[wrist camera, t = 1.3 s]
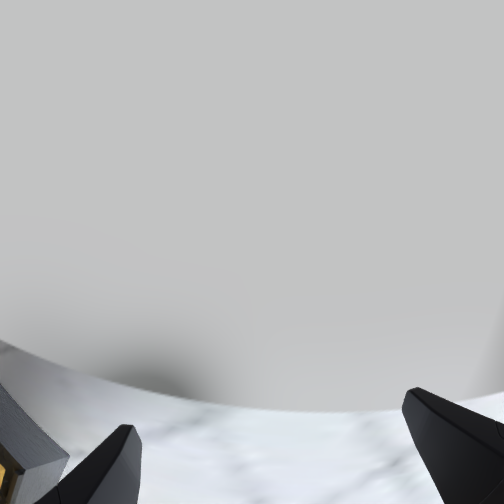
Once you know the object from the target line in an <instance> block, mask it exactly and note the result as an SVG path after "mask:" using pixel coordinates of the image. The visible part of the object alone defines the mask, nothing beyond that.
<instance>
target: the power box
mask: <svg viewBox="0 0 504 504" xmlns="http://www.w3.org/2000/svg"><path fill="white" fill-rule="evenodd" d="M69 457H70V455H69V454H67V453H66V452H65V451H64V450H63V449H62V448H61V447H59V446H58V445H57V444H56V443H55V442H54V441H53V440H52V439H51V438H50V437H49V436H48V435H46V434H45V433H44V432H43V431H42V430H41V429H40V428H39V427H38V426H37V425H36V424H35V423H34V422H33V421H32V420H31V418H30V417H29V416H28V415H27V414H26V413H25V412H24V411H23V410H22V409H21V408H20V407H19V405H18V404H17V403H16V402H15V401H14V400H13V399H12V397H11V396H10V395H9V394H8V393H7V391H6V390H5V389H4V388H3V387H2V385H1V384H0V464H1V465H2V466H3V467H4V469H5V473H4V477H3V480H2V484H1V488H0V504H33V503H35V502H36V501H37V500H39V499H40V498H41V497H43V496H44V495H45V494H46V493H47V492H49V491H50V490H51V489H52V488H53V487H54V486H55V485H57V484H58V481H59V479H60V477H61V475H62V472H63V470H64V468H65V466H66V464H67V461H68V459H69Z"/></svg>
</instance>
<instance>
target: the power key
mask: <svg viewBox="0 0 504 504" xmlns="http://www.w3.org/2000/svg"><path fill="white" fill-rule="evenodd" d="M4 473H5V469H4V467H3V466H2V465H1V464H0V488H1V484H2V480H3V477H4Z"/></svg>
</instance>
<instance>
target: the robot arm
mask: <svg viewBox="0 0 504 504" xmlns="http://www.w3.org/2000/svg"><path fill="white" fill-rule="evenodd" d="M402 413H403V415H404V418H405V420H406V423H407V426H408V428H409V431H410V433H411V436H412V439H413V441H414V444H415V446H416V448H417V450H418V452H419V454H420V456H421V458H422V460H423V462H424V464H425V465H426V467H427V469H428V471H429V473H430V475H431V477H432V479H433V481H434V483H435V485H436V487H437V489H438V492H439V494H440V496H441V498H442V500H443V502H444V504H504V424H503V423H500V422H498V421H495V420H493V419H490V418H488V417H485V416H483V415H481V414H478V413H476V412H474V411H471V410H469V409H466V408H464V407H462V406H460V405H457V404H455V403H453V402H450V401H448V400H446V399H444V398H441V397H439V396H437V395H435V394H432V393H430V392H428V391H426V390H424V389H421V388H419V387H416V388H413V389H410V390H408V391H407V393H406V396H405V399H404V402H403V405H402ZM141 455H142V442H141V439H140V437H139V435H138V433H137V431H136V429H135V427H134V426H133V425H127V424H122V425H120V426H119V427H118V428H117V429H116V430H115V431H114V432H113V433H112V434H110V435H109V436H108V437H107V438H106V439H105V440H104V441H103V442H102V443H101V444H100V445H99V446H98V447H97V448H96V449H95V450H94V451H92V452H91V453H90V454H89V455H88V456H87V457H86V458H85V459H84V460H83V461H82V462H81V463H80V464H78V465H77V466H76V467H75V468H74V469H73V470H72V471H71V472H70V473H69V474H68V475H67V476H65V477H64V478H63V479H62V480H61V481H60V482H59V483H58V484H57V485H55V486H54V487H53V488H52V489H51V490H50V491H49V492H47V493H46V494H45V495H44V496H43V497H41V498H40V499H39V500H37V501H36V502H35V503H33V504H137V501H138V495H139V488H140V476H141Z"/></svg>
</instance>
